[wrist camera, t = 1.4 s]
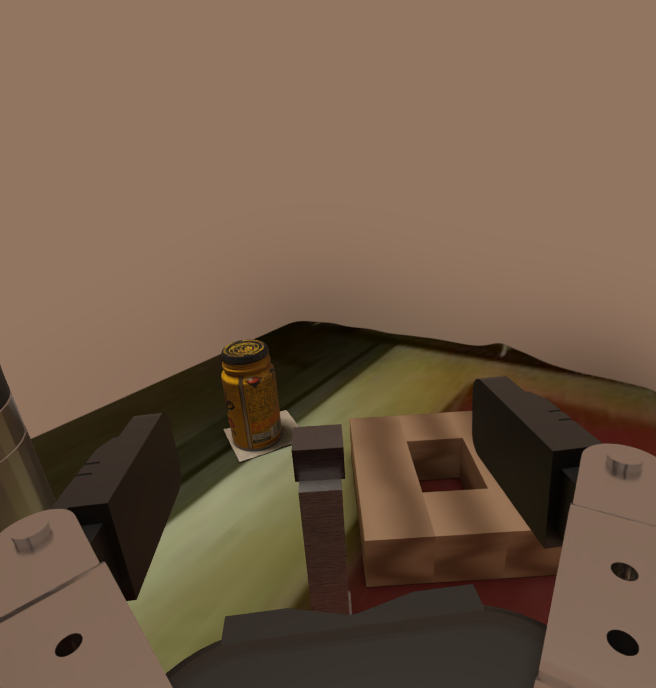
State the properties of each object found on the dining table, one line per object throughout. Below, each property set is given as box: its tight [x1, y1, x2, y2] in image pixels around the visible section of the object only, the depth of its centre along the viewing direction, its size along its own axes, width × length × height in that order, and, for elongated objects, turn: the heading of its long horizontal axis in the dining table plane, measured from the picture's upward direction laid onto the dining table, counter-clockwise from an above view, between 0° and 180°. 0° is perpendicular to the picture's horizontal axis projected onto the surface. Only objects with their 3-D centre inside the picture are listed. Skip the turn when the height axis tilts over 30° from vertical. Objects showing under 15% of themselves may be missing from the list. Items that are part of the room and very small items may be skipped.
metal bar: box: [292, 424, 352, 615], centre depth 27 cm, size 3×4×18 cm, turn 1°
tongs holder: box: [350, 411, 562, 587], centre depth 41 cm, size 16×16×5 cm
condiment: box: [221, 340, 299, 462], centre depth 52 cm, size 7×8×12 cm
